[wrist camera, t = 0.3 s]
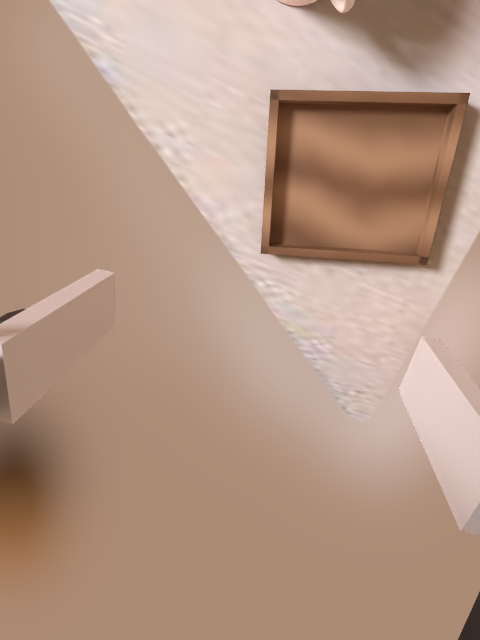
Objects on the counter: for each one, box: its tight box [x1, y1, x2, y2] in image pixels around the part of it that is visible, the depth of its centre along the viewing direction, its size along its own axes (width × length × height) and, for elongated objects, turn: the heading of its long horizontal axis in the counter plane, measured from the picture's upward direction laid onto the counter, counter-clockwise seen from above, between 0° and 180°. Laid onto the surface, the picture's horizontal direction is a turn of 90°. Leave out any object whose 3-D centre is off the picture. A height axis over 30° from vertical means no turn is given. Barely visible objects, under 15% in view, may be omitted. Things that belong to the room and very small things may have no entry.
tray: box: [261, 90, 470, 265], centre depth 36 cm, size 15×17×2 cm
